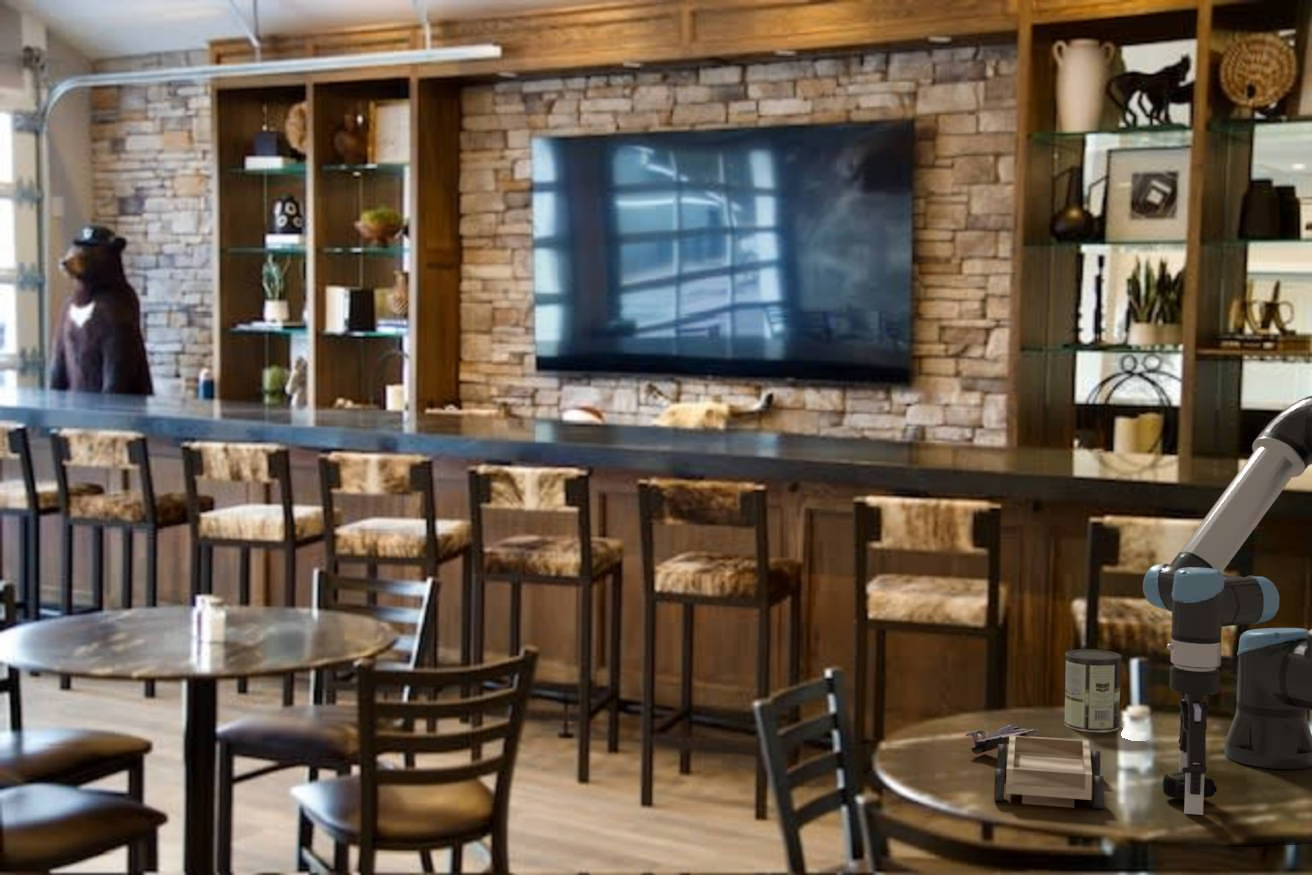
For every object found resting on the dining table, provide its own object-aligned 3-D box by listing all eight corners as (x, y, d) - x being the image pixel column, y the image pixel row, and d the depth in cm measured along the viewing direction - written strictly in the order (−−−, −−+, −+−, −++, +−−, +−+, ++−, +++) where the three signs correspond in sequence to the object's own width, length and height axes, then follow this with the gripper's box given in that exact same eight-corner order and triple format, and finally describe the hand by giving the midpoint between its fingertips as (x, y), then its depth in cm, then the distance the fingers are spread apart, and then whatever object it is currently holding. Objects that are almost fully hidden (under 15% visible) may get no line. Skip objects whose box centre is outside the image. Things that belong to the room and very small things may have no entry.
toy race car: (1044, 734, 279) (1038, 711, 280) (1024, 735, 275) (1018, 712, 276) (987, 753, 288) (981, 730, 289) (966, 754, 284) (961, 731, 286)
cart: (998, 768, 277) (998, 734, 277) (1098, 775, 273) (1099, 740, 273) (993, 804, 256) (994, 767, 255) (1103, 813, 252) (1104, 775, 251)
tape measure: (1182, 804, 254) (1181, 781, 254) (1153, 796, 261) (1153, 773, 261) (1217, 801, 257) (1217, 777, 257) (1188, 793, 263) (1188, 769, 263)
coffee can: (1089, 718, 314) (1091, 646, 313) (1131, 730, 306) (1133, 656, 305) (1051, 725, 309) (1053, 651, 308) (1092, 736, 300) (1095, 661, 299)
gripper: (1164, 650, 268) (1160, 781, 270) (1175, 680, 245) (1171, 822, 247) (1212, 653, 266) (1207, 784, 268) (1228, 683, 244) (1223, 826, 245)
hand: (1190, 802), depth 257 cm, fingers open, 11 cm apart
